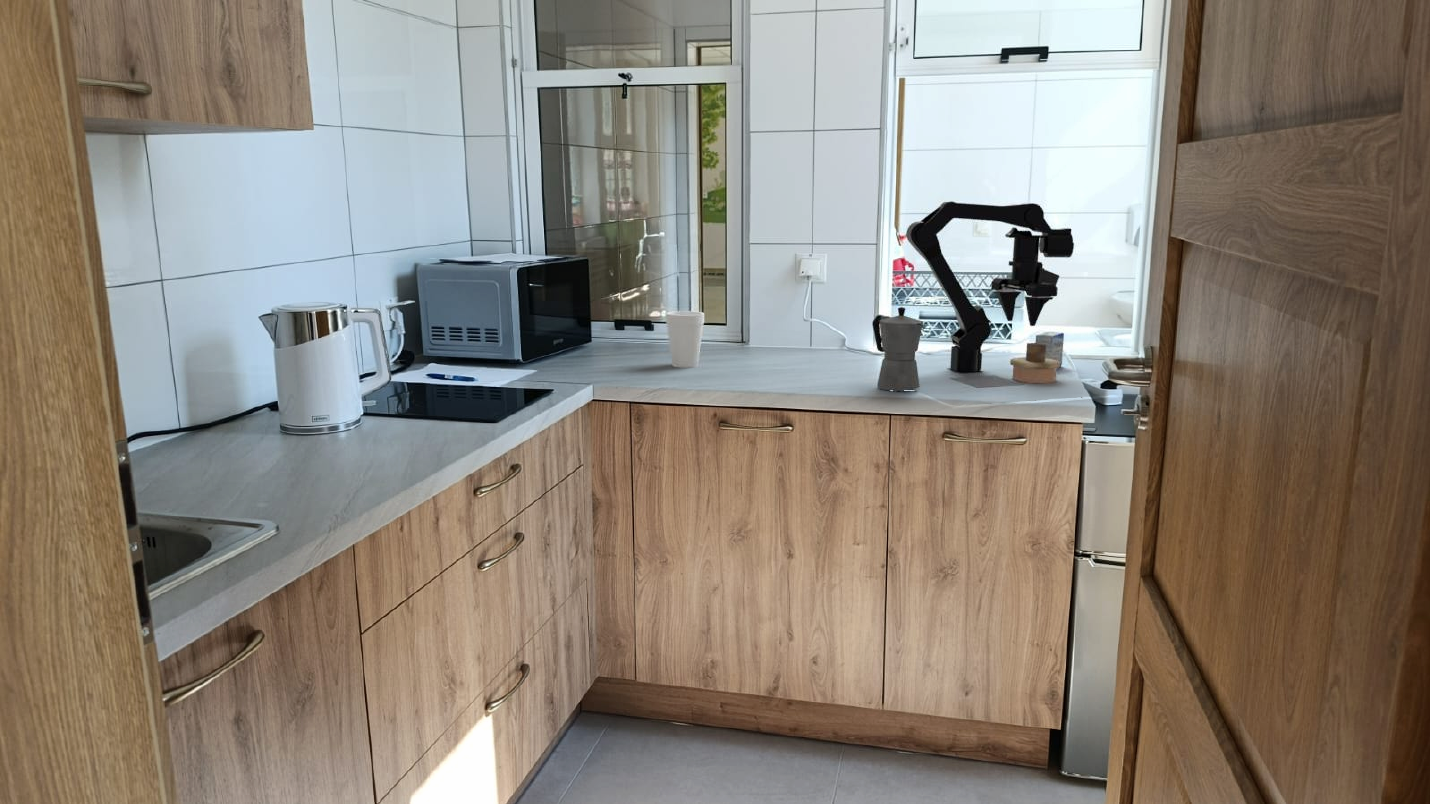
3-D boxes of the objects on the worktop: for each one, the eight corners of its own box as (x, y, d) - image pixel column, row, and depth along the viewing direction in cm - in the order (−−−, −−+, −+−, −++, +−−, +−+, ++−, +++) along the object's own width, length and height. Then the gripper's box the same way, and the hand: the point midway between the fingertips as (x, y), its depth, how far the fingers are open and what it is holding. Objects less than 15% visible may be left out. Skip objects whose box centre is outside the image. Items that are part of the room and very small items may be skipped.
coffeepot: (935, 391, 222) (939, 309, 219) (903, 395, 217) (907, 311, 214) (886, 379, 235) (889, 302, 231) (855, 384, 230) (858, 304, 226)
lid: (1028, 369, 226) (1030, 348, 225) (1000, 361, 236) (1001, 341, 235) (1070, 367, 229) (1072, 346, 228) (1041, 359, 239) (1042, 339, 238)
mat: (977, 390, 223) (977, 387, 223) (949, 380, 235) (949, 377, 235) (1024, 387, 227) (1024, 384, 227) (994, 377, 238) (994, 375, 238)
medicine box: (1051, 371, 247) (1053, 336, 246) (1033, 369, 250) (1035, 334, 248) (1062, 367, 254) (1064, 332, 252) (1044, 365, 256) (1046, 330, 254)
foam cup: (706, 362, 256) (706, 311, 254) (702, 369, 247) (702, 315, 245) (668, 361, 257) (668, 310, 255) (663, 368, 248) (663, 315, 246)
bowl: (1028, 386, 228) (1030, 369, 227) (1005, 379, 236) (1006, 362, 236) (1063, 384, 231) (1064, 367, 230) (1039, 377, 239) (1040, 360, 238)
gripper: (1079, 259, 233) (1074, 327, 236) (1031, 254, 250) (1027, 317, 253) (1038, 260, 229) (1033, 329, 233) (991, 255, 247) (988, 319, 250)
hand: (1021, 323), depth 242 cm, fingers open, 9 cm apart
